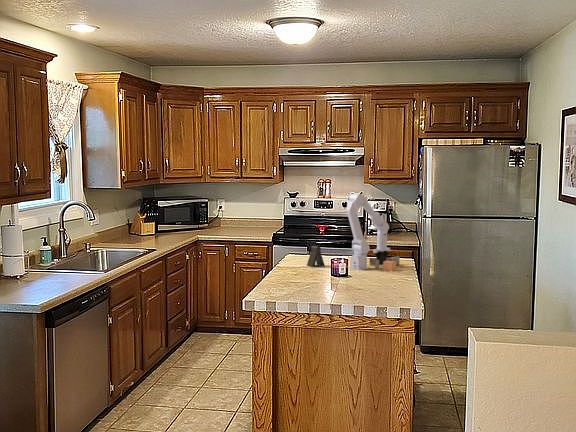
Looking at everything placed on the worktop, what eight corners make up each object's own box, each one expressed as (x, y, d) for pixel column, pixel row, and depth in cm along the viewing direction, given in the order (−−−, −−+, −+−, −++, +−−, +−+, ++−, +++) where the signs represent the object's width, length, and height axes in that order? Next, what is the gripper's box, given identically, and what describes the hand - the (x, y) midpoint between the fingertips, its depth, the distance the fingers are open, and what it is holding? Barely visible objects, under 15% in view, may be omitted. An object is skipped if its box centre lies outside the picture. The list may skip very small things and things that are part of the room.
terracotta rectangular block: (391, 271, 356) (391, 262, 355) (383, 269, 360) (383, 261, 359) (395, 270, 358) (396, 261, 358) (387, 269, 363) (387, 260, 362)
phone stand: (312, 267, 367) (312, 247, 366) (306, 266, 372) (306, 246, 372) (324, 266, 372) (324, 246, 371) (319, 264, 377) (319, 245, 376)
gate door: (369, 265, 374) (369, 258, 374) (369, 264, 375) (369, 257, 375) (392, 265, 375) (392, 258, 375) (391, 264, 376) (391, 257, 376)
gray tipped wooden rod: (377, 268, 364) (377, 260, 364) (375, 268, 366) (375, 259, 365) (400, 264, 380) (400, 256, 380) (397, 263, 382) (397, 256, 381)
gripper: (380, 242, 362) (379, 266, 364) (394, 241, 373) (394, 263, 374) (370, 241, 367) (369, 264, 368) (385, 240, 378) (384, 262, 379)
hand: (381, 264), depth 371 cm, fingers open, 3 cm apart
